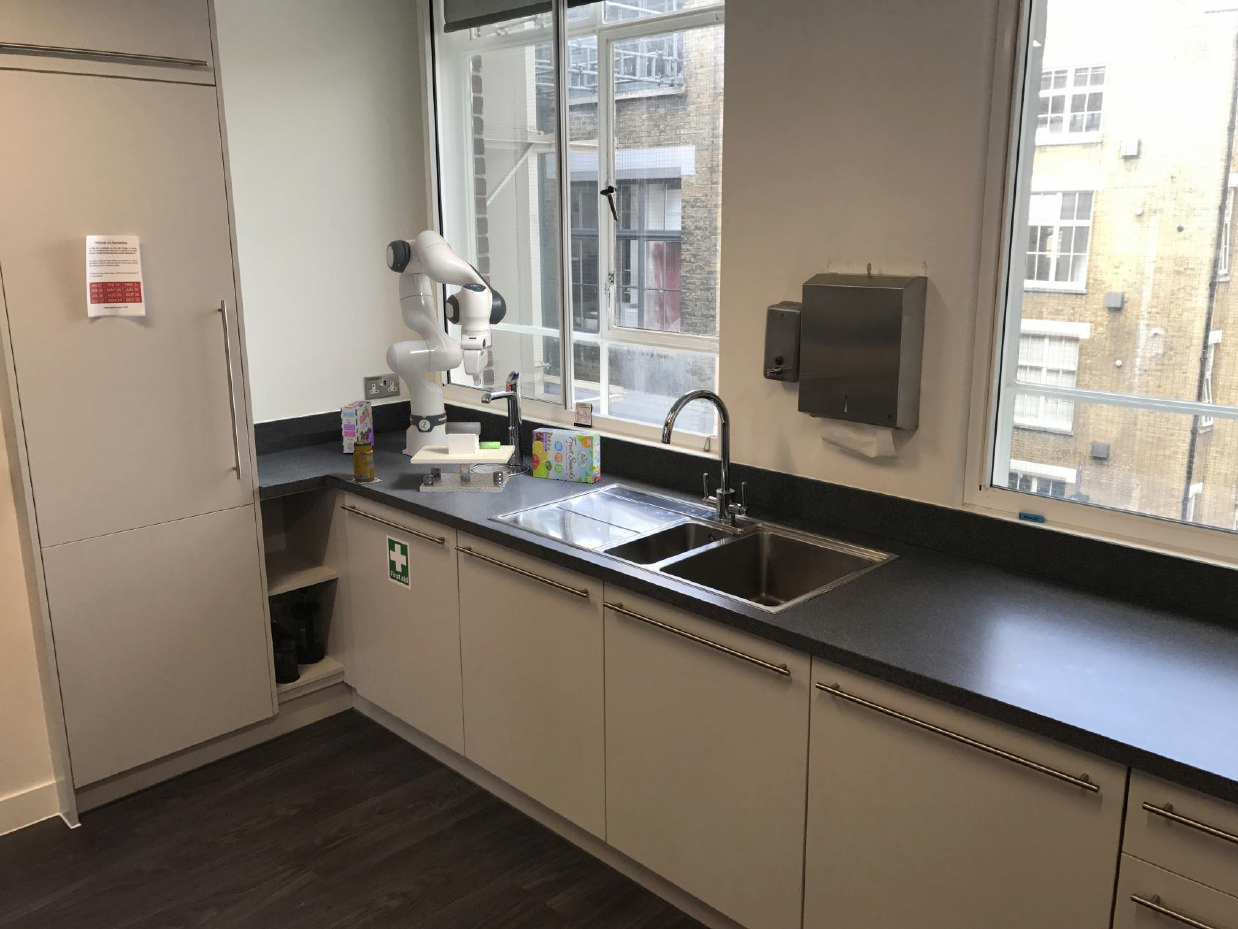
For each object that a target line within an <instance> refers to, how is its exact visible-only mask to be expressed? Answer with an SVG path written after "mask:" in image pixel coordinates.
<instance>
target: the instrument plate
mask: <svg viewBox="0 0 1238 929" xmlns="http://www.w3.org/2000/svg"><path fill="white" fill-rule="evenodd" d="M481 429H482V425H481V422H480V421H479V422H478V421H475V422H472V421H471V422H470V421H469V422H467V421H464V422H461V421H459V422H457V421H456V422H454V421H453V422H448V421H447V422H446V424H445V433H446V434H448V446H424V447H423V448H422V449H421V450H420V451H419V452H418V453H417V454H416V455H415V456H414V457H413V456H412V458H411V459H410V464H460V463H470V464H507V463H508V462H509V460H510V459H511V456H513V453H514V451H515V450H516V446H515V445H501V442H500V441H480V442H479V440H480V438H479V436H480V435H481V432H482V430H481Z"/></svg>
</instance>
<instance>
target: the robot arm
mask: <svg viewBox="0 0 1238 929" xmlns="http://www.w3.org/2000/svg"><path fill="white" fill-rule="evenodd" d="M385 260H386V264H387V266H388V268H389V270H390V271H392V272H394V273H399V275H398V276H399V277H398V278H399V279H398V293H399V296H398V297H399V303H400V309H401V317H402V321H403V324H404V326H406V327H407V328H408V329H410V330H411V331H414V332H416V333H418V334H419V335H420V337H421V338H422V339H414V340H413V339H412V340H402V341H398V342H394V343H391V344H390V345H389V347H388V348H387V351H386V353H385V360H386V365H387V366H388V368H389V369H390V370H391V372H393V373H395V374H396V375H397V376H399V377H400V379H402V380H403V381H404V383H405V385H406V387H407V390H408V393H409V399H410V401H409V402H410V411H411V412H410V413H409V421H410V426H409V427H408V428H407V429H406V448H405V449H402V454H403V455H408V456H410V457H412V458H413V457H414V456H415V455H416V454H417V453H418V452H419V451H420V450H421V449H422V448H423V447H424V446H448V434H446V433H445V424H446V422H448V421H447V415H446V413H447V411H446V410H445V401H444V398H445V397H444V391H443V389H442V387H441V386H440V385H438V384H436V383H435V382H432V381H429V380H427V377H426V373H435V372H446V371H451V370H453V369H457V368H459V367H460V365H461V364H462V362H463V366H464V373H465V375H466V376H472V379H473V386H474V387H480V385H482V376H483V375H482V373H483V370H484V369H485V368H486V367H487V365H488V363H489V354H488V347H490V346H492V327H491V325H498V324H499V323H500V322H501V321H503V319H504V318H505V316H506V315H507V303H506V301H505V299H504V297H503V296H502V295H501V293H499V292H498V291H497V290H495V289H494V288H493V287H492V286H491V285H490V284H489V282H488V281H487V280H486V279H485V278H484V277H483V276H482V274H481V273H480V272H479V271H478V270H477V269H476V268H475V267H474V266H473V265H472V264H470V263H469V262H467V261H465V260H464V259H462V258H461V257H459V255H457V254H456V253H455V252H454V251H453V250H452V247H451V245H450V244H449V242H447V241H446V239H445V238H444V237H443V236H442V235H441V234H439V232H437V231H435V230H431V229H430V230H429V229H427V230H423V231H421V232H420V233H419V234H418V235H417V236H416V237H415V238H414V239H406V240H405V239H404V240H402V239H397V240H393V241H390V243H389V244H388V245H387V248H386V251H385ZM431 281H433V282H435V283H438V284H443V285H454V286H459V287H461V288H460V291H458V292H456V293H452V294H450V295H449V296H448V298H447V299H446V301H445V302H444V303H445V304H444V310H445V312H444V313H445V317H446V319H447V320H448V321H449V323H451V324H452V325H456V326H461V327H460V333H461V334H460V337H461V338H460V343H459V341H457V340H456V339H455V338H453V337H452V336H451V335H449V334H448V333H446V331H445V330H444V329H443V327H442V325H441V324H440V321H439V320H438V316H437V311H436V306H435V301H434V296H433V290H432V285H431Z"/></svg>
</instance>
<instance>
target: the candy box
mask: <svg viewBox="0 0 1238 929" xmlns="http://www.w3.org/2000/svg"><path fill="white" fill-rule="evenodd" d="M372 409H373V407H372V400H355V401H354V402H353V401H352V402H351V403H348V404H346V405H344V406H341V407H340V421H341V422H340V423H341V435H342V438H341V439H342V452H343V453H353V451H354V442H356V441H370V442H371V447H372V446H373V445H374V446H375V437H374V424H373V423H374V422H373V410H372ZM374 446H373V447H374ZM373 447H372V448H373Z"/></svg>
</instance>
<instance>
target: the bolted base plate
mask: <svg viewBox="0 0 1238 929" xmlns="http://www.w3.org/2000/svg"><path fill="white" fill-rule="evenodd" d="M422 478H423V483H421V485H420V486H419V493H502V492H501V491H503V490H504V488H505V487H506V485H507V482H508V481H509V479H510V475H509V473H504V472H503V471H500V470H499V471H493V472H492V473H479V472H477V473H471V463H459V472H458V473H455V472H454V473H451V472H447V473H446V472H445V473H443V472H442V470H441V466H433V467H430V474H425V475H423V477H422ZM505 484H506V485H505ZM503 487H504V488H503Z"/></svg>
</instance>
